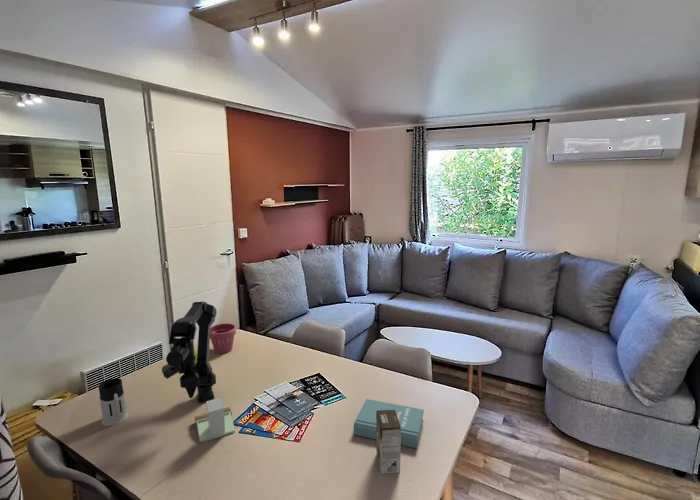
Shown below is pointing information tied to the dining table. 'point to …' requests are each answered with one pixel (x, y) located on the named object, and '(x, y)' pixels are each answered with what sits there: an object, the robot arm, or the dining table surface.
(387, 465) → the coffee box
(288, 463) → the dining table surface
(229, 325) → the plant pot
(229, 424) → the trapdoor
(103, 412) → the glass holder
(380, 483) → the dining table surface
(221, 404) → the block
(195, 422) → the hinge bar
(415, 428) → the book
